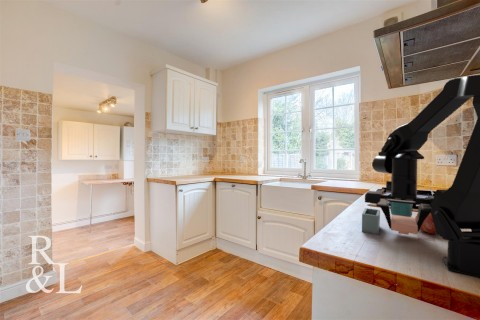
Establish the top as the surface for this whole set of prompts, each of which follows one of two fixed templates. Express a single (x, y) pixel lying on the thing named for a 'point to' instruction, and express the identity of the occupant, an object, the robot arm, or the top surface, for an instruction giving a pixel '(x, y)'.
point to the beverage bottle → (401, 208)
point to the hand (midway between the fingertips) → (403, 230)
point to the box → (371, 221)
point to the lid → (404, 224)
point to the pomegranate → (428, 225)
